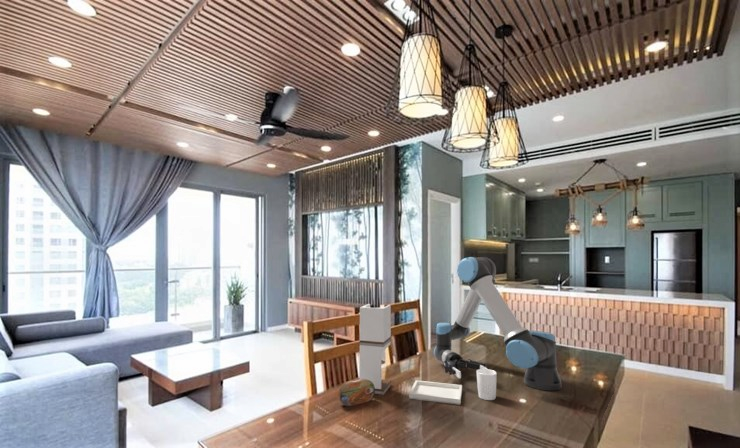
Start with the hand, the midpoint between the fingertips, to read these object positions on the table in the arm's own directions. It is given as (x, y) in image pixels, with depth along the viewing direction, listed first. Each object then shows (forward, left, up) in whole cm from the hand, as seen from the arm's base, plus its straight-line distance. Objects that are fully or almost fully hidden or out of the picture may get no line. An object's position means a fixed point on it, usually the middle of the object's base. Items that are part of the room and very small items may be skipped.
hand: (474, 374), depth 158 cm
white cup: (-5, +8, -6) cm, 12 cm away
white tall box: (+41, +12, -6) cm, 43 cm away
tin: (+44, +29, -6) cm, 53 cm away
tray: (+15, +11, -6) cm, 20 cm away
